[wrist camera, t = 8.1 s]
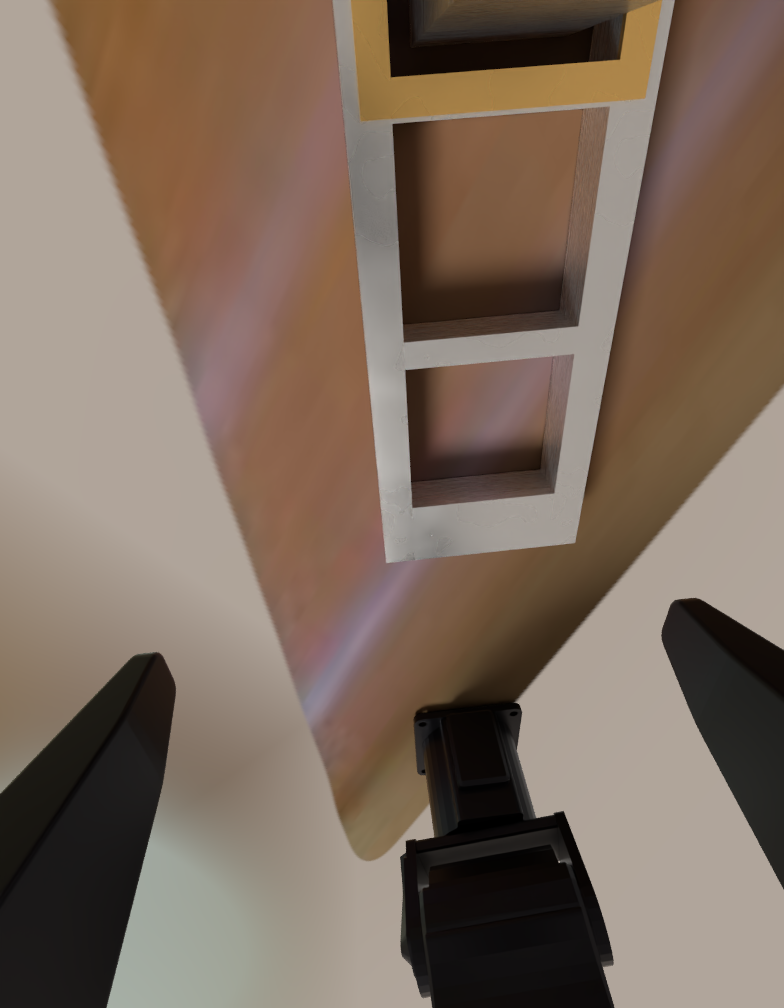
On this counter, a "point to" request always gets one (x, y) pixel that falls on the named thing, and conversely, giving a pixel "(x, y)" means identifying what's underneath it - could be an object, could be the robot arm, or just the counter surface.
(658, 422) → the counter surface
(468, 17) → the gray knob block
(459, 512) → the socket frame
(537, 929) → the robot arm
